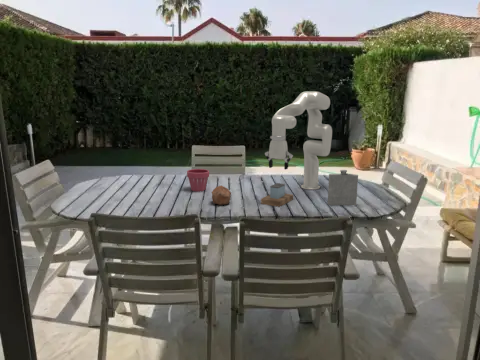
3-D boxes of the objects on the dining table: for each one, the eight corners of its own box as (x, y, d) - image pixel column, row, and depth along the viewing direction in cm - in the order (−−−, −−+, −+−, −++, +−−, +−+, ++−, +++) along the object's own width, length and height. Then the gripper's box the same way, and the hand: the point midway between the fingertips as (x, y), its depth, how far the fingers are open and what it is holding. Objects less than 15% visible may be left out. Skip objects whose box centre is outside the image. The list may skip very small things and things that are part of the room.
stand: (274, 196, 247) (275, 191, 247) (293, 199, 241) (293, 194, 241) (260, 203, 232) (261, 198, 232) (279, 206, 226) (280, 201, 226)
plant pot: (211, 187, 270) (210, 168, 267) (207, 193, 256) (207, 173, 253) (190, 187, 271) (189, 168, 268) (185, 192, 257) (184, 172, 255)
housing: (270, 197, 234) (270, 186, 232) (277, 194, 241) (277, 183, 240) (277, 198, 231) (278, 187, 230) (284, 195, 239) (284, 184, 237)
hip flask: (327, 204, 230) (329, 170, 226) (327, 202, 234) (328, 169, 230) (356, 205, 228) (358, 171, 224) (355, 203, 232) (357, 169, 228)
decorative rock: (211, 200, 239) (211, 184, 237) (230, 200, 240) (230, 183, 238) (211, 206, 227) (211, 189, 224) (231, 206, 227) (231, 189, 225)
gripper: (262, 138, 230) (262, 167, 234) (290, 140, 221) (289, 171, 225) (268, 136, 236) (268, 165, 240) (295, 138, 227) (294, 168, 231)
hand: (278, 168), depth 233 cm, fingers open, 9 cm apart
